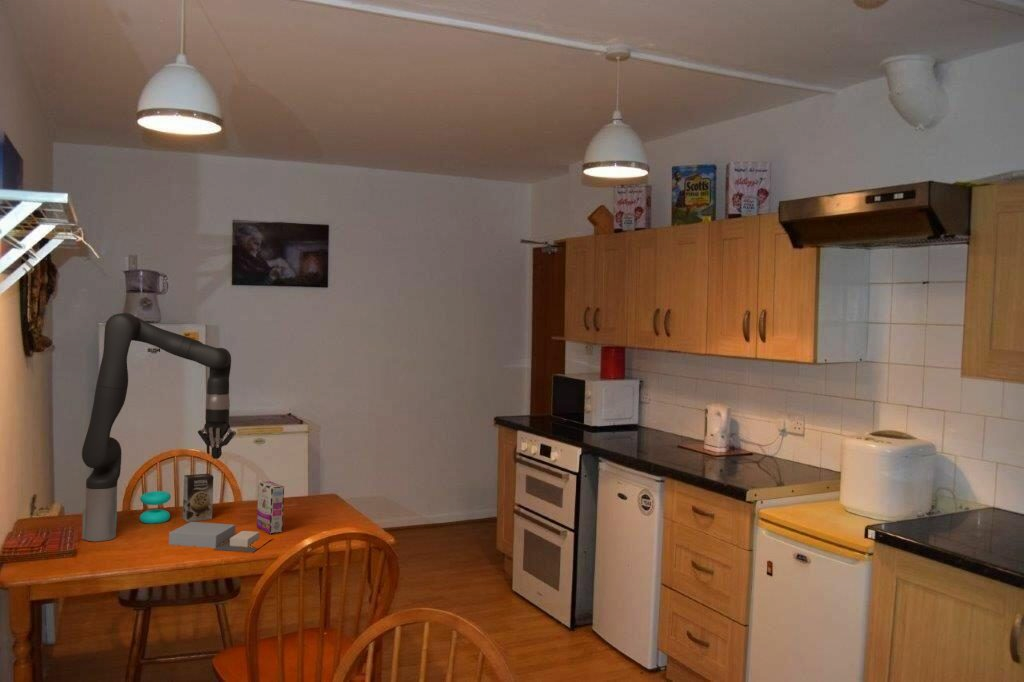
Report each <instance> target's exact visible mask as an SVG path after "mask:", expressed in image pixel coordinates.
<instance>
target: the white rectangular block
mask: <svg viewBox="0 0 1024 682" xmlns="http://www.w3.org/2000/svg"><path fill="white" fill-rule="evenodd" d="M259 537H260V531H250V530H241V531H240V532H238V533H235V535H234V536H233V537H231V538H230V546H242V547H248V546H249V545H251V544H253V543H254V542H255V541H257V540H258V539H259Z"/></svg>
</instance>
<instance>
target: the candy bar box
mask: <svg viewBox="0 0 1024 682" xmlns="http://www.w3.org/2000/svg"><path fill="white" fill-rule="evenodd" d="M284 498H285V486H284V485H281V484H279V483H275V482H273V481H270V480H269V481H262V482H258V483H257V509H256V510H257V513H256V528H257V527H258V528H260V529H262V530H264V531H266V532H265V533H267V532H268V533H267V534H269V533H270V534H269V535H272V534H271V533H277V532H282V531H283V529H284V526H283V525H284V502H285V500H284ZM258 528H257V529H258ZM260 529H259V530H260ZM262 530H261V531H262ZM264 531H263V532H264ZM282 533H283V532H282ZM277 534H278V533H277Z"/></svg>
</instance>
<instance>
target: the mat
mask: <svg viewBox="0 0 1024 682" xmlns="http://www.w3.org/2000/svg"><path fill="white" fill-rule="evenodd" d="M250 546H251V545H250ZM252 547H253V546H252ZM213 550H214V551H221V550H222V551H223V552H224V551H225V552H235V551H243V552H242V553H249V552H253V553H255V552H256V551H258V550H257V548H255V547H253V548H251V547H249V546H248V547H247V548H246V547H240V546H230V540H228V541H227V542H225V543H223V544H222V545H220V546H218V547H217V548H213ZM255 550H256V551H255ZM254 551H255V552H254Z"/></svg>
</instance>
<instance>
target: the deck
mask: <svg viewBox="0 0 1024 682" xmlns="http://www.w3.org/2000/svg"><path fill="white" fill-rule="evenodd" d="M234 535H236V524H227V523H215V522H200V521H192V522H187V523H185V524H184V525H181V526H180V527H178V528H175V529H174V530H171V531H170V532H168V545H169V546H178V545H180V547H182V546H183V547H193V546H196V547H195V548H207V547H209V548H211V549H215V548H216V547H219V546H220V545H221V544H222V543H223V544H224V542H225V541H227V540H228V541H229V539H230V538H231V537H233V536H234Z"/></svg>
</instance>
